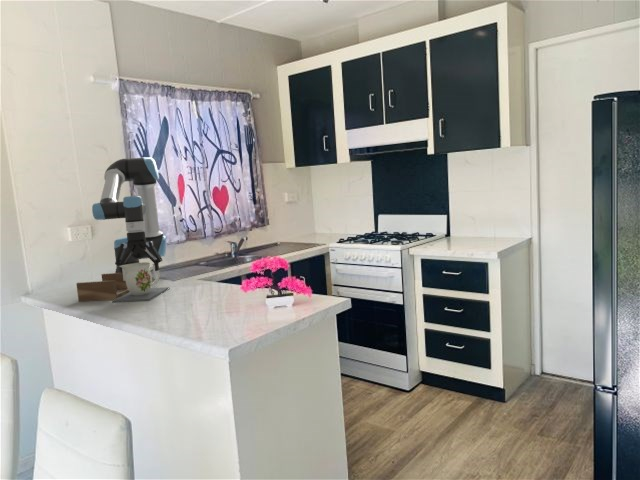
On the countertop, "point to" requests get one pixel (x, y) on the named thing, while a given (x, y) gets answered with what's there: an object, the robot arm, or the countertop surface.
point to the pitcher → (139, 278)
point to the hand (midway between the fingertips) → (140, 279)
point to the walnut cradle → (102, 288)
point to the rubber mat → (146, 297)
